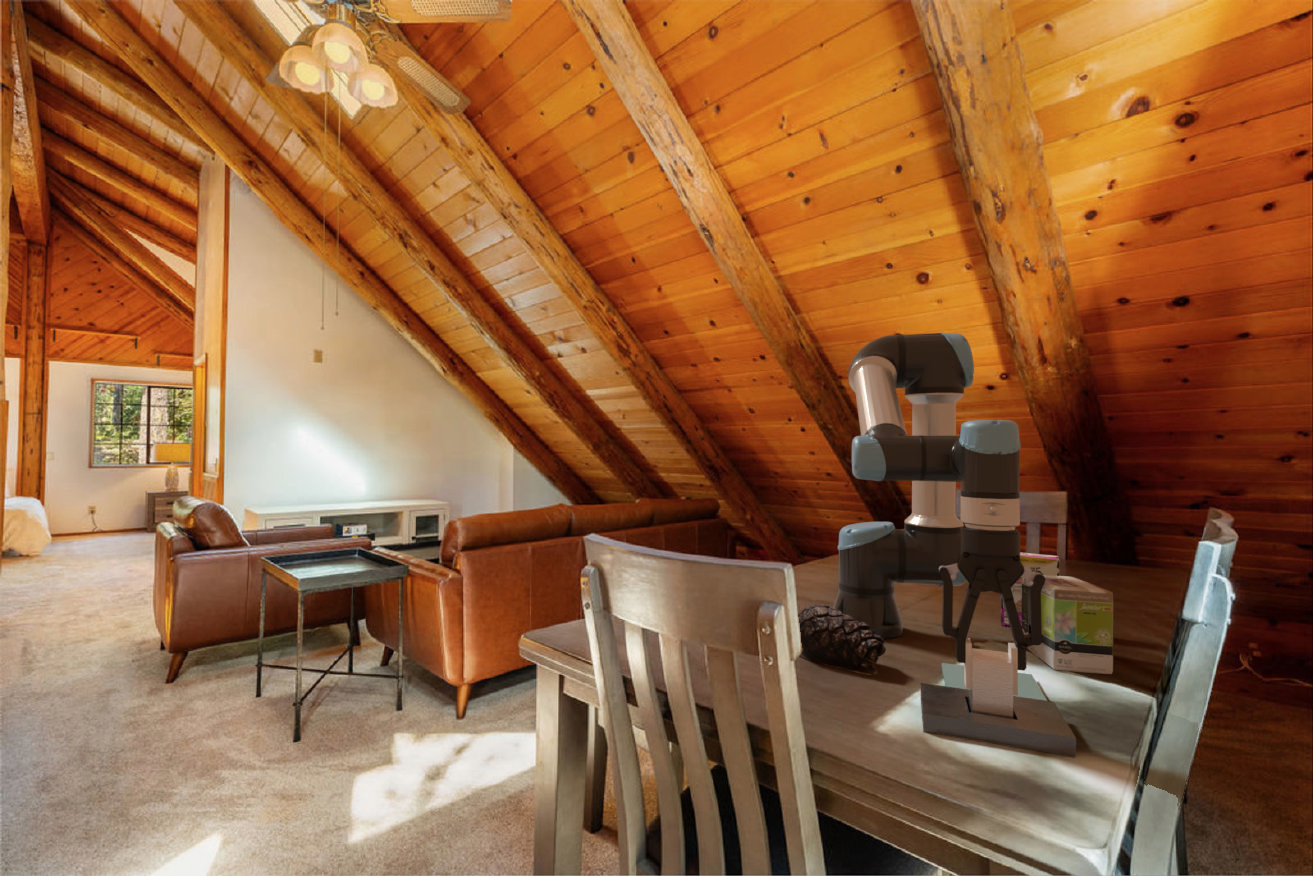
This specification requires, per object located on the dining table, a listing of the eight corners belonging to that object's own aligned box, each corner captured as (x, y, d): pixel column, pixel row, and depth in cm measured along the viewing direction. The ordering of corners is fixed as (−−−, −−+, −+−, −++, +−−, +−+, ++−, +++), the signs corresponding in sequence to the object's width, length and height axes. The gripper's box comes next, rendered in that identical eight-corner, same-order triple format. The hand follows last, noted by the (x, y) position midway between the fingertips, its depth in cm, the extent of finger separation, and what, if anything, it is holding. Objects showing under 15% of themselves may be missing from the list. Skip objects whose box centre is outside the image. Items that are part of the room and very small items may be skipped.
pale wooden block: (972, 729, 84) (972, 658, 85) (968, 715, 89) (968, 647, 89) (1013, 736, 83) (1013, 663, 83) (1007, 721, 87) (1007, 652, 87)
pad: (946, 693, 97) (946, 687, 97) (941, 668, 108) (941, 662, 108) (1047, 708, 92) (1047, 701, 92) (1031, 680, 103) (1031, 674, 103)
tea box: (1116, 676, 105) (1115, 591, 106) (1052, 671, 107) (1052, 588, 108) (1074, 648, 120) (1074, 574, 120) (1019, 644, 122) (1019, 572, 122)
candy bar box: (1000, 626, 135) (1000, 553, 135) (1001, 620, 139) (1001, 550, 139) (1060, 634, 129) (1059, 558, 129) (1059, 628, 133) (1059, 555, 133)
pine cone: (879, 681, 102) (879, 622, 102) (784, 658, 113) (784, 605, 113) (897, 664, 110) (897, 609, 110) (806, 644, 121) (807, 594, 121)
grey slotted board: (923, 731, 84) (923, 713, 84) (920, 698, 95) (920, 682, 95) (1076, 757, 77) (1076, 738, 77) (1053, 718, 88) (1053, 701, 88)
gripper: (922, 526, 86) (922, 688, 86) (1070, 533, 79) (1071, 709, 79) (920, 520, 93) (920, 670, 93) (1056, 527, 86) (1057, 688, 86)
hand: (990, 688), depth 86 cm, fingers closed on pale wooden block, 5 cm apart
